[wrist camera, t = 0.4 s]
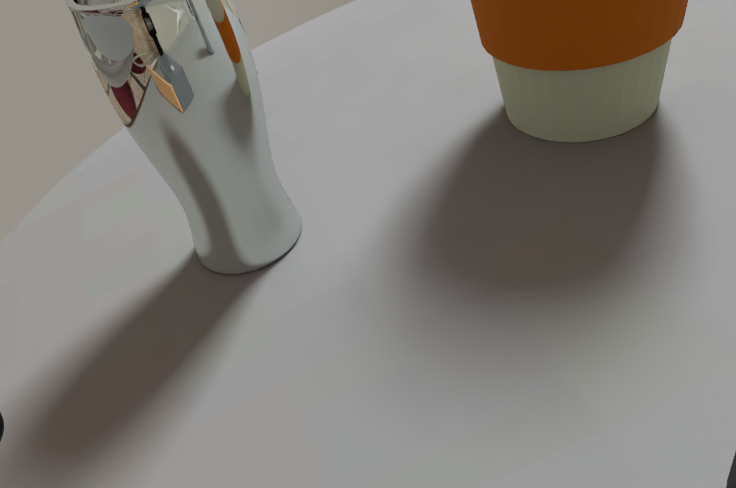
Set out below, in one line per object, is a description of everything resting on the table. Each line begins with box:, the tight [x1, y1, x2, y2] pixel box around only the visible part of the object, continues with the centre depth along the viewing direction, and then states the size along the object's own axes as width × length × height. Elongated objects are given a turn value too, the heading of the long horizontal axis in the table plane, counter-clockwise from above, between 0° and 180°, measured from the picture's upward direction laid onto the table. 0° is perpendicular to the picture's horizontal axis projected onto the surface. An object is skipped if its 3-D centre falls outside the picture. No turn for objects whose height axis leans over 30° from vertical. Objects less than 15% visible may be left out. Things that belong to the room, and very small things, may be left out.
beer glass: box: [66, 0, 301, 274], centre depth 35 cm, size 7×7×15 cm
